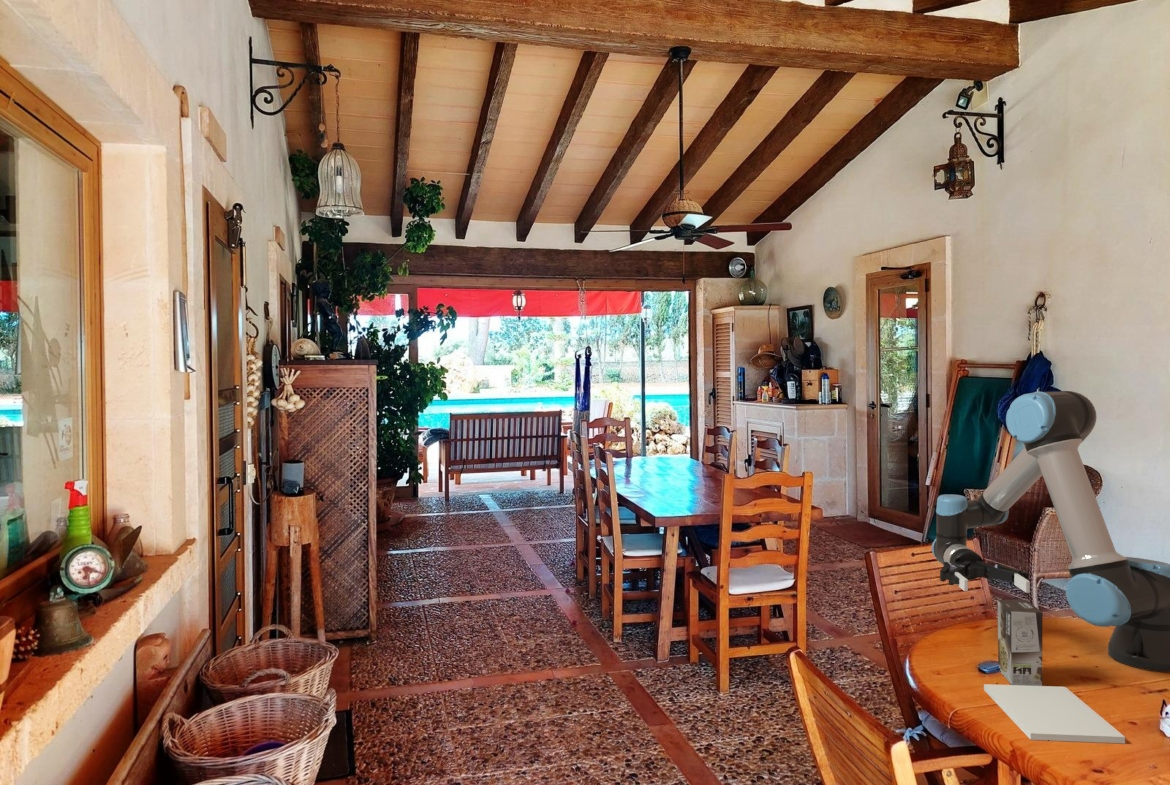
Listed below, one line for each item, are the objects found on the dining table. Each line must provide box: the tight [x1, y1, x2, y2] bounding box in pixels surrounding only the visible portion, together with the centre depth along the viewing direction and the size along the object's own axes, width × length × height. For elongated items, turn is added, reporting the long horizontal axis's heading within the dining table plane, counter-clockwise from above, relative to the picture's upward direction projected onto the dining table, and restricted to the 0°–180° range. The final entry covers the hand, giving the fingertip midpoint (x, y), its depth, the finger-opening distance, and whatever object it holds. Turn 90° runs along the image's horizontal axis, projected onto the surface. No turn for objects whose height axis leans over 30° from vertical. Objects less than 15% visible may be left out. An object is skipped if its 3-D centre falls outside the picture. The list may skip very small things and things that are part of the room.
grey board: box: [983, 683, 1126, 745], centre depth 150 cm, size 16×22×1 cm
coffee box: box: [997, 599, 1044, 686], centre depth 168 cm, size 9×6×16 cm
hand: (997, 586), depth 179 cm, fingers open, 13 cm apart
